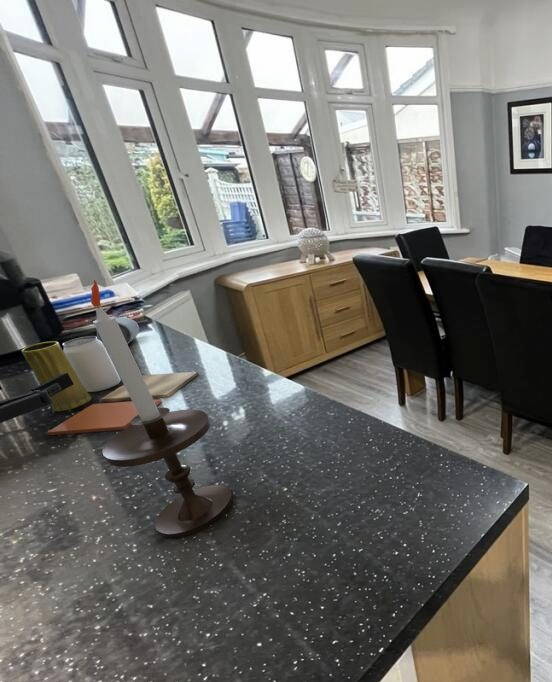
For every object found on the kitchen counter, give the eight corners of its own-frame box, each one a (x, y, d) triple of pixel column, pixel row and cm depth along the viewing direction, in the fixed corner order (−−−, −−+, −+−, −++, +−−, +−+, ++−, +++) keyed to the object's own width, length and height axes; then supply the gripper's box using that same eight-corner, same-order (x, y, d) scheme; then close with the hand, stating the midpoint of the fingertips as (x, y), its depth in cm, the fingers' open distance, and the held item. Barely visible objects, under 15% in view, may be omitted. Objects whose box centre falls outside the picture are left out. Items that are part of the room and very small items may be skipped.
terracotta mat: (49, 435, 77) (47, 432, 76) (94, 407, 86) (92, 404, 86) (125, 429, 78) (123, 426, 77) (161, 402, 87) (160, 399, 87)
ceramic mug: (145, 335, 124) (134, 312, 121) (136, 344, 118) (124, 320, 114) (101, 342, 120) (89, 319, 117) (90, 352, 113) (76, 328, 110)
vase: (46, 414, 84) (9, 354, 78) (62, 400, 89) (29, 343, 83) (83, 407, 86) (50, 348, 80) (97, 394, 91) (67, 338, 85)
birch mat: (101, 402, 88) (100, 399, 87) (139, 378, 98) (138, 375, 97) (168, 397, 89) (166, 394, 88) (198, 374, 99) (197, 371, 98)
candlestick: (231, 475, 65) (144, 265, 51) (247, 511, 58) (152, 279, 44) (145, 512, 58) (18, 283, 44) (152, 559, 51) (3, 303, 37)
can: (106, 378, 98) (84, 334, 93) (128, 380, 97) (107, 335, 92) (77, 392, 92) (51, 346, 87) (100, 393, 91) (75, 347, 86)
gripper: (-181, 475, 61) (-24, 401, 80) (-7, 461, 63) (106, 392, 82) (-219, 435, 58) (-46, 369, 77) (-35, 422, 60) (89, 360, 79)
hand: (33, 380), depth 80 cm, fingers open, 13 cm apart
